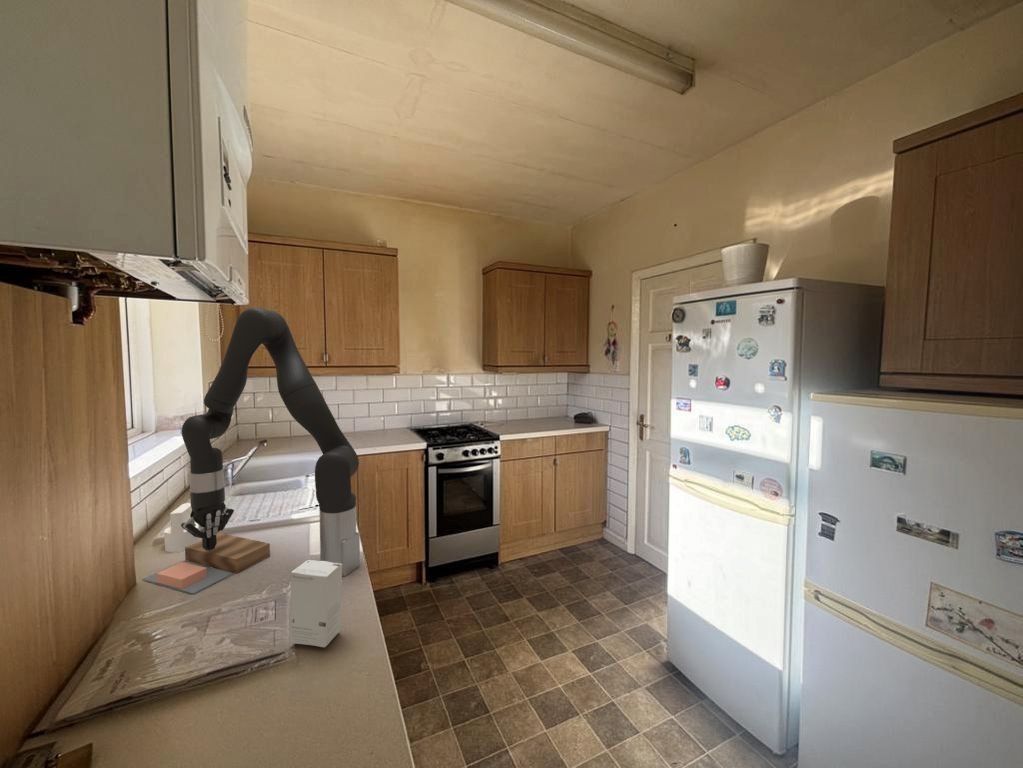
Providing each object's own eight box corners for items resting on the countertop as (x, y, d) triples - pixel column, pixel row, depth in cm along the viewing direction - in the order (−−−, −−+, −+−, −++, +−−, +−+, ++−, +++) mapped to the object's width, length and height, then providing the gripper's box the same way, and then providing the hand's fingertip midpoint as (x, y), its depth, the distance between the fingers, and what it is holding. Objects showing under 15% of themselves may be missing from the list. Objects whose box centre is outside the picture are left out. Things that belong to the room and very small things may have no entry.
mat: (233, 574, 108) (233, 573, 108) (193, 594, 99) (193, 593, 98) (184, 562, 114) (184, 560, 114) (142, 580, 105) (142, 578, 105)
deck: (270, 556, 118) (269, 543, 117) (236, 573, 108) (236, 559, 108) (220, 545, 124) (220, 533, 124) (185, 561, 115) (184, 547, 115)
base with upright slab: (173, 542, 127) (171, 504, 126) (207, 538, 129) (206, 501, 129) (158, 555, 118) (156, 515, 117) (195, 551, 121) (194, 511, 120)
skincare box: (288, 644, 82) (287, 572, 81) (307, 625, 88) (306, 558, 87) (327, 648, 81) (326, 576, 80) (344, 628, 87) (342, 561, 86)
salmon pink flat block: (181, 579, 100) (182, 589, 100) (206, 567, 106) (206, 576, 106) (156, 573, 103) (157, 582, 103) (182, 562, 109) (182, 570, 109)
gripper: (190, 496, 103) (193, 562, 104) (241, 481, 115) (242, 541, 116) (171, 492, 105) (173, 557, 106) (222, 478, 118) (224, 537, 119)
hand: (209, 549), depth 111 cm, fingers closed
